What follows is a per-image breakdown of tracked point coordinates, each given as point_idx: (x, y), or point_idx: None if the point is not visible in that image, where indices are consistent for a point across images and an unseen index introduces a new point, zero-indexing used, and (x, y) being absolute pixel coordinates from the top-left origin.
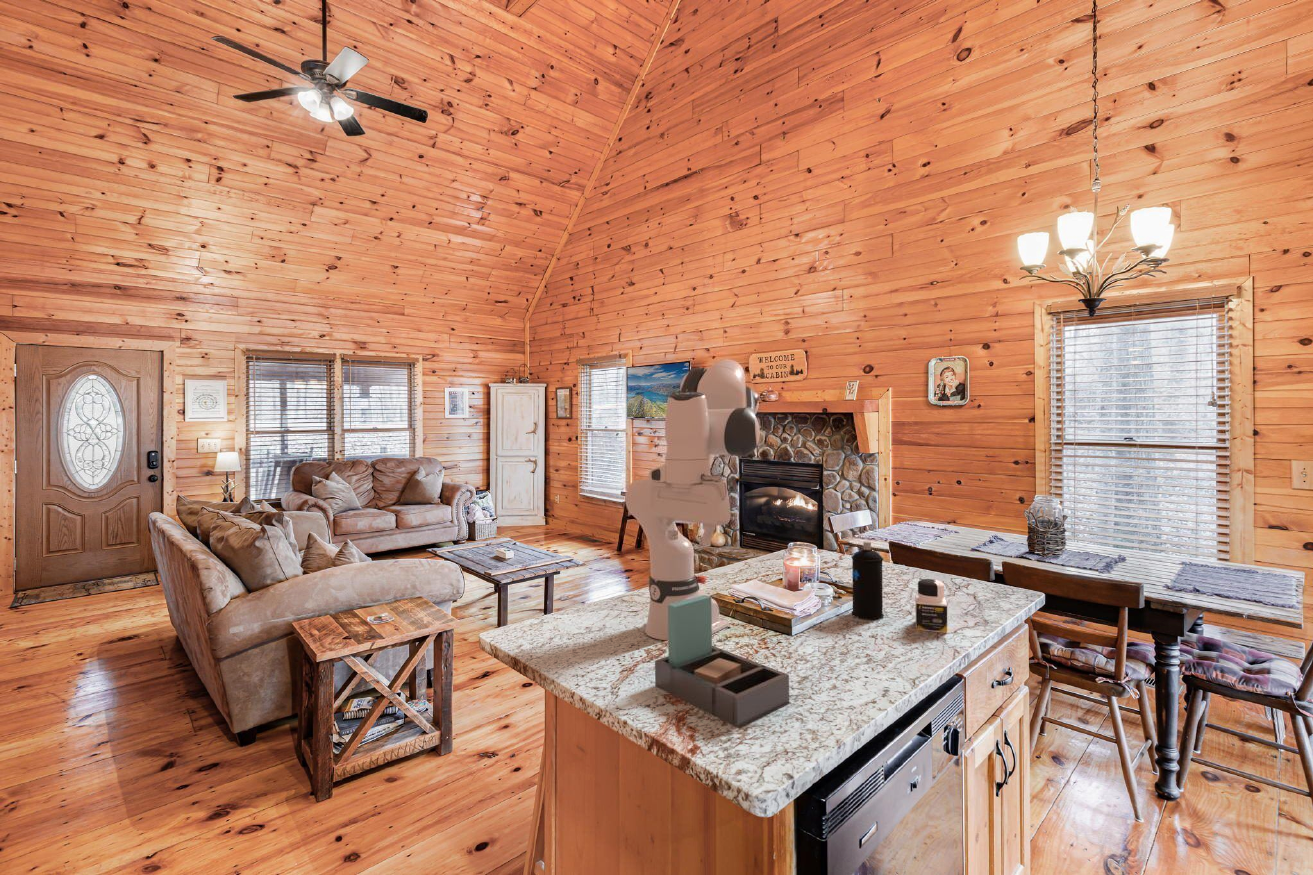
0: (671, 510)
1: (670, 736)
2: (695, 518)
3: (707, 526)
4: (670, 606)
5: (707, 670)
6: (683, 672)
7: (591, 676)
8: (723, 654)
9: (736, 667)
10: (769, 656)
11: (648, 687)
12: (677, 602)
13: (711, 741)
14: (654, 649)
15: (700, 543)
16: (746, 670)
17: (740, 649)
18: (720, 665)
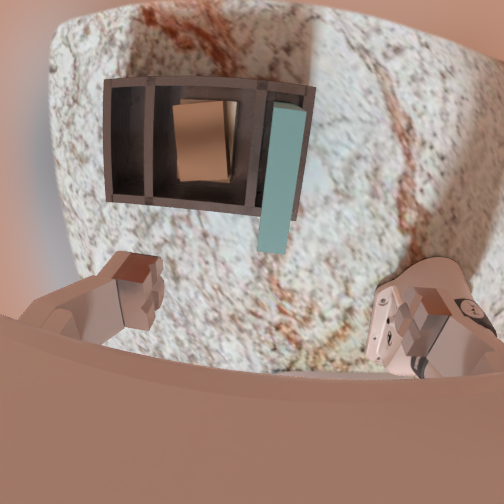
0: (477, 435)
1: (193, 12)
2: (64, 361)
3: (21, 317)
4: (294, 110)
5: (204, 118)
6: (232, 80)
7: (432, 80)
8: (240, 203)
9: (179, 168)
10: (255, 307)
11: (334, 98)
12: (298, 147)
13: (145, 44)
14: (418, 225)
15: (145, 259)
16: (187, 194)
17: (305, 303)
18: (202, 153)
